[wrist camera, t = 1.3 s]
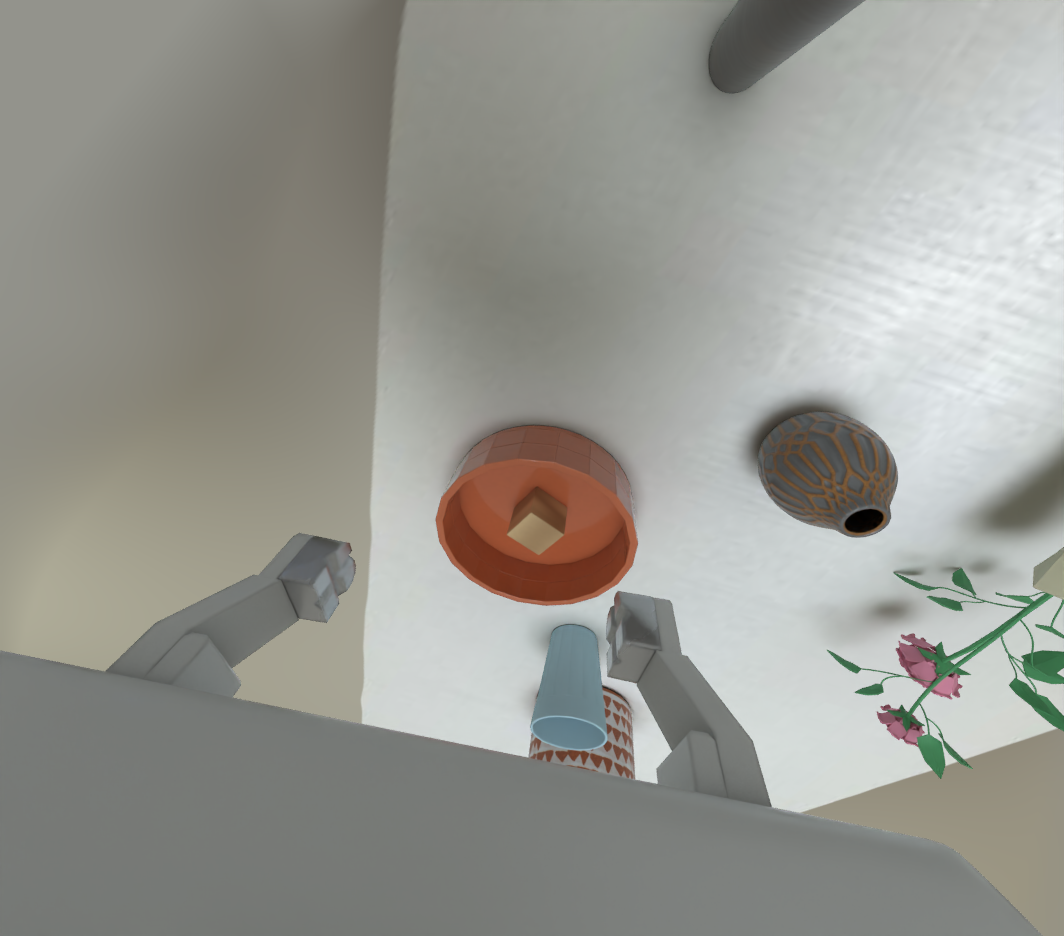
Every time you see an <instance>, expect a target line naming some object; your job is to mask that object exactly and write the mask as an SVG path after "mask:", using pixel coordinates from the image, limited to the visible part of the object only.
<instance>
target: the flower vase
mask: <svg viewBox="0 0 1064 936" xmlns="http://www.w3.org/2000/svg"><path fill="white" fill-rule="evenodd" d="M894 574H895V575H897V576H898V577H899V578H901V579H902V580H904V581H905V582H907V583H909V584H911V585H913V586H915V587H917V588H919V589H923V590H927V591H930V590H934V589H938V588H944V587H937V588H936V587H930V586H926V585H922V584H920V583H918V582H915V581H913V580H910V579H908V578H906V577H903V576H901V575H899V574H896V573H894ZM952 581H953V582H954V584H955V585H957V586H959V587H961V588H963V589H966V590H968V591H970V592H972V594H973V596H974V597H972V596H969V595H966V594H963V593H961V592H958V591H955V590H952V589H948V588H944V589H948V590H952V591H955V592H958V593H961V594H963V595H966V596H969V597H972V598H975V599H978V598H976V597H975V595H976V593H975V592H974V590H973V588H972V585H971V582H970V580H969V579H968V577H967V576H966V574H965V572H964V571H963V569H962V568H960V569H959V570H957V571H956V572H954V573H953V578H952ZM1033 587H1034V588H1036V589H1038V590H1041V591H1043V592H1040V593H1045V594H1044V595H1042V596H1041V597H1040V598H1038V599H1037V600H1036V601H1033V600H1032V599H1030V598H1029V597H1032V596H1035V595H1037V594H1040V593H1037V594H1035V595H1032V596H1014V595H1003V594H1000V593H996V595H1000V596H1004V597H1008V598H1011V599H1013V600H1016V601H1020V602H1023V603H1027V604H1030V605H1029V606H1027V607H1016V606H1008V605H1002V604H997V603H992V602H988V601H985V600H981V599H978V600H981V601H983V602H988V603H992V604H996V605H1001V606H1007V607H1015V608H1024V609H1023V610H1022V611H1020V612H1019V613H1018V614H1016V615H1015V616H1013V617H1012V618H1011V619H1009V620H1008V621H1006V622H1005V623H1004V624H1002V625H1001V626H1000V627H998V628H997V629H995V630H994V631H992V632H991V633H989V634H988V635H986V636H984V637H983V638H981V639H980V640H978V641H976V642H975V643H973V644H972V645H970V646H968V647H966V648H964V649H962V650H960V651H958V652H956V653H954V654H952V655H950V656H946V655H945V653H944V650H943V645H942V642H940V643H939V644H938V645H937V646H936V647H935V646H932V645H930V644H929V643H927V642H926V640H925V639H924V638H921V640H920V639H917V638H915V634H909V635H907V636H904V635H901V637H902V639H904V640H906V641H908V642H911V643H912V645H906V644H903V643H900V641H899V646H900V647H899V649H898V648H896V651H897V653H898V655H899V657H900V658H899V661H900V664H901V666H902V667H904V668H905V669H906V671H907V672H908V673H909V674H908V675H909V676H910V677H907V678H911V679H913V680H914V681H915V682H918V683H919V684H921V685H922V686H923V687H924V688H927V689H926V690H925V691H924V693H923V694H922V695H921V696H920V697H919V698H918V700H917V701H916V702H915V703H914V705H913V706H912V707H911V709H910V710H909V712H907V711H905V709H904V707H903V706H902V705H901V706H900V708H899V709H893V708H891V707H890V705H885V706H884V707H883V706H881V709H882V710H884V711H888V712H886V713H878V712H877V715H878V719H879V720H880V722H881V723H883V724H886V725H887V727H888V728H887V730H888V731H889V732H890V733H891V735H892V736H894V737H895V738H897V739H898V740H900V738H901V739H903V740H904V741H905V742H906V743H907V744H911V745H915V746H917V747H919V749H920V751H921V753H922V755H923V758H924V760H925V761H926V763H927V764H928V765H929V766H930V767H931V768H932V769H933V771H934V772H935V773H936V774H937V775H938V776H939V777H940V779H941V777H942V774H943V771H944V768H945V759H944V753H943V747H942V742H940V741H939V740H937V739H936V738H934V737H932V736H931V735H930V732H929V724H928V720H929V721H931V720H930V719H928V718H927V717H926V714H925V711H924V709H923V707H922V706H921V704H920V703H921V701H922V700H923V699H924V698H925V697H926V696H927V695H928V694H929V692H930V691H931V692H932V693H934V694H936V695H939V696H941V697H943V696H944V697H947V698H949V699H952V698H951V697H950V694H951V693H952V695H954V696H956V697H957V698H959V697H960V694H959V692H958V689H959V688H962V687H963V686H962V685H960V684H958V678H960V676H959V675H971V674H969V673H967V672H965V671H963V670H961V669H959V668H958V667H960V666H961V665H962V664H964V663H965V662H967V661H968V660H969V659H971V658H972V657H973V656H975V655H976V654H977V653H979V652H980V651H982V650H983V649H984V648H986V647H987V646H988V645H990V644H991V643H992V642H994V641H995V640H996V639H997V638H999V637H1000V636H1001V640H1002V643H1003V645H1004V648H1005V651H1006V652H1007V653H1008V657H1009V660H1010V658H1011V659H1012V661H1013V662H1014V663H1015V664H1016V662H1015V661H1014V660H1013V658H1014V657H1013V656H1011V655H1010V654H1009V652H1008V650H1007V648H1006V646H1005V644H1004V641H1003V637H1002V635H1003V634H1004V633H1005V632H1006V631H1008V630H1009V629H1010V628H1011V627H1012V626H1014V625H1015V624H1016V623H1017V622H1018V621H1019V620H1020V621H1021V622H1022V623H1023V621H1022V620H1021V619H1022V618H1023V617H1025V616H1026V615H1028V614H1029V613H1030V612H1032V611H1033V610H1035V609H1036V608H1037V607H1039V606H1040V605H1042V604H1043V603H1044V602H1046V601H1047V600H1049V599H1050V598H1052V597H1053V596H1056V597H1058V598H1061V599H1063V600H1062V603H1061V606H1060V607H1059V609H1058V611H1057V613H1056V614H1055V616H1054V618H1053V620H1052V623H1051V627H1049V626H1043V625H1037V624H1035V625H1036V627H1037V628H1040V629H1043V630H1046V631H1049V632H1052V633H1054V634H1056V635H1058V636H1060V637H1062V638H1064V635H1063V634H1061V633H1060V632H1058V631H1057V630H1055V629H1054V628H1053V627H1052V626H1053V623H1054V620H1055V618H1056V617H1057V615H1058V613H1059V611H1060V610H1061V608H1062V606H1063V604H1064V547H1063V548H1062V549H1061V550H1059V551H1058V552H1057V553H1055V554H1054V555H1052V556H1051V557H1049V558H1048V559H1046V560H1045V561H1043V562H1042V563H1040V564H1039V565H1037V566H1035V567H1034V575H1033ZM974 594H975V595H974ZM927 598H929V599H931V600H933V601H934V602H936V603H938V604H940V605H942V606H944V607H946V608H949V609H952V610H955V611H963V609H962V606H961V604H960V603H961V602H958V601H954V600H951V599H947V598H938V597H933V596H927ZM962 602H969V601H962ZM972 603H982V602H972ZM1023 625H1024V626H1025V627H1026V629H1027V630H1028V632H1029V634H1030V636H1031V639H1032V651H1031V653H1029V654H1026V655H1023V656H1021V657H1022V658H1023V659H1024V661H1023V662H1022V661H1020V660H1018V659H1016V658H1014V659H1015V660H1017V661H1019V662H1021V663H1022V664H1023V668H1024V671H1025V673H1024V672H1023V671H1022V670H1021V668H1020V667H1019V666H1018V665H1017V664H1016V666H1017V667H1018V668H1019V669H1020V670H1021V672H1022V673H1023V674H1024V675H1025V676H1026V677H1027V679H1028V680H1029V681H1030V682H1031V684H1032V685H1033V687H1034V689H1035V693H1034V692H1033V690H1032V689H1031V688H1030V687H1029V686H1028V685H1027V684H1026V683H1024V682H1022V681H1020V680H1018V679H1017V673H1016V670H1015V668H1014V666H1013V664H1012V662H1011V660H1010V662H1011V664H1012V666H1013V668H1014V670H1015V674H1016V678H1015V679H1014V680H1013V681H1012V682H1011V683H1010V685H1009V686H1010V687H1011V689H1012V690H1013V691H1014V692H1015V693H1016V694H1017V695H1018V696H1019V697H1021V698H1022V699H1023V700H1024V701H1026V702H1027V703H1028V704H1030V705H1031V706H1032V707H1033V708H1034V710H1035V711H1036V712H1037V713H1038V714H1040V715H1041V716H1042V717H1043V718H1045V719H1046V720H1047V721H1048V722H1049V723H1051V724H1052V725H1053V726H1055V727H1057V728H1059V729H1061V730H1063V731H1064V716H1063V715H1062V714H1061V713H1060V712H1059V711H1058V709H1057V708H1056V707H1055V706H1054V705H1053V704H1052V703H1051V702H1050V701H1049V699H1048V698H1047V697H1044V696H1041V695H1038V694H1037V690H1036V688H1035V686H1034V684H1033V683H1032V681H1031V680H1030V679H1029V678H1028V677H1030V678H1033V679H1035V680H1039V681H1043V682H1046V683H1050V684H1064V677H1062V676H1060V675H1059V674H1057V672H1059V671H1060V670H1061V669H1063V668H1064V652H1060V651H1043V650H1042V651H1038V652H1034V653H1033V649H1034V641H1033V637H1032V635H1031V633H1030V631H1029V629H1028V628H1027V626H1026V625H1025V624H1024V623H1023ZM914 645H915V646H916V647H915V646H914ZM929 647H930V648H931V649H932V650H931V649H929ZM976 648H977V649H976ZM974 649H975V650H974ZM933 650H934V651H935V652H934V651H933ZM973 650H974V651H973ZM827 651H828V652H829V653H830V654H831V655H832V656H833V657H834V658H835V659H836V660H837V661H838V662H839V663H840V664H842V665H843V666H844V667H846V668H847V669H848V670H850V671H852V672H854V673H858V672H859V671H860V670H861V668H860V667H858V666H856V665H855V664H853V663H851V662H848V661H846V660H844V659H843V658H841V657H839V656H838V655H836V654H834V653H833V652H831V651H829V650H827ZM970 651H973V652H971V653H970V654H969V655H967V656H966V657H964V658H963V659H962V660H960V661H959V662H958V663H956V664H955V665H954V664H953V663H951V660H953V659H955V658H957V657H959V656H962V655H964V654H966V653H968V652H970ZM862 670H871V669H862ZM871 671H877V670H871ZM878 672H883V671H878ZM883 673H888V672H883ZM888 674H893V673H888ZM893 675H897V674H893ZM952 676H953V677H952ZM892 677H906V676H902V675H898V676H891V677H887V678H885V679H883V680H882V682H881V683H880V684H874V685H872V686H869V687H865V688H862V689H860V690H858V691H856V692H855V693H858V694H863V695H879V694H881V693H883V692H884V691H883V686H882V683H883V681H884V680H886V679H888V678H892ZM919 704H920V706H921V708H922V710H923V712H924V715H925V718H926V721H927V727H928V735H924V736H922V733H924V731H923V730H922V726H925V725H924V724H922V723H920V722H919V721H918V720H917V719H916V718H915V716H914V715H912V713H913V712H914V711H915V709H916V708H917V707H918V705H919ZM927 719H928V720H927ZM931 722H932V721H931ZM932 723H933V724H934V725H935V726H936V727H937V728H938V726H937V725H936V724H935V723H934V722H932ZM938 729H939V728H938ZM939 731H940V729H939ZM940 733H941V731H940ZM940 733H938V734H939V735H940V737H941V738H942V740H943V743H944V747H945V748H946V750H947V751H948V753H949V754H950V755H951V756H952V757H953V758H955V759H956V760H957V761H958V762H959V763H960V764H963V765H965V766H967V767H969V768H971V769H973V768H972V767H971V766H970V765H969V764H967V762H966V761H964V760H963V759H962V758H961V757H960V756H959V755H958V754H957V753H956V752H955V751H954V750H953V749H952V748H951V747H950V746H949V745H948V744H947V743H946V742H945V741H944V739H943V736H942V733H941V734H940ZM917 742H918V745H917V744H916V743H917Z"/></svg>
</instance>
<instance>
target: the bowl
mask: <svg viewBox="0 0 1064 936" xmlns="http://www.w3.org/2000/svg"><path fill="white" fill-rule="evenodd" d="M536 487H539V488H540V489H541V490H543V491H544V492H546V493H547V494H549V495H550V496H552V497H553V498H554V499H556V500H557V501H559V502H560V503H562V504H563V505H564V506H566V507H567V515H566V524H565V533H564V536H562V537H561V538H560V539H559V540H557V541H556V542H555V543H554V544H552V545H551V546H550V547H549V548H547V549H546V550H545V551H544V552H542V553H541V554H540V555H538V554H536V553H534V552H533V551H531V550H530V549H528V548H527V547H525V546H523V545H522V544H520V543H519V542H517V541H516V540H514V539H513V538H511V537H509V536H508V535H507V532H508V528H509V525H510V521H511V517H512V514H513V510H514V508H515V507H516V506H517V505H518V504H519V503H520V502H521V501H522V500H523V499H524V498H525V497H526V496H527V495H528V494H529V493H530V492H531V491H532V490H533V489H534V488H536ZM436 525H437V531H438V537H439V542H440V544H441V545H442V547H443V549H444V551H445V552H446V554H447V556H448V557H449V559H450V561H451V562H452V564H453V565H455V566H456V567H457V568H458V569H459V570H460V571H461V572H462V573H463V574H464V575H465V576H466V577H467V578H468V579H469V580H471V581H473V582H474V583H476V584H478V585H479V586H481V587H483V588H485V589H486V590H488V591H490V592H491V593H494V594H497V595H500V596H503V597H505V598H508V599H511V600H514V601H517V602H523V603H530V604H537V605H546V606H548V605H564V604H574V603H577V602H581V601H584V600H588V599H591V598H595V597H597V596H599V595H601V594H602V593H604V592H606V591H607V590H609V589H610V588H612V587H614V586H615V585H617V584H618V583H619V582H620V581H621V579H622V578H623V577H624V576H625V574H626V573H627V572H628V571H629V569H630V568H631V567H632V565H633V561H634V557H635V553H636V549H637V546H638V538H637V529H636V520H635V511H634V504H633V499H632V492H631V488H630V484H629V482H628V479H627V477H626V475H625V473H624V471H623V470H622V468H621V467H620V465H619V464H618V463H617V462H616V460H615V459H614V458H613V457H612V456H611V455H610V454H609V453H608V452H607V451H605V450H604V449H603V448H602V447H600V446H599V445H597V444H596V443H594V442H593V441H591V440H589V439H587V438H585V437H583V436H582V435H579V434H576V433H574V432H571V431H568V430H564V429H560V428H556V427H549V426H520V427H514V428H510V429H506V430H502V431H500V432H497V433H495V434H492V435H490V436H489V437H487V438H485V439H483V440H482V441H480V442H479V443H478V444H477V445H475V446H474V447H473V448H472V449H471V450H470V451H469V452H468V453H467V455H466V456H465V458H464V459H463V461H462V462H461V463H460V464H459V466H458V467H457V469H456V471H455V473H454V475H453V477H452V479H451V481H450V482H449V484H448V486H447V488H446V490H445V492H444V494H443V496H442V498H441V501H440V505H439V508H438V512H437V516H436Z"/></svg>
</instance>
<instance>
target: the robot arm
mask: <svg viewBox="0 0 1064 936" xmlns="http://www.w3.org/2000/svg"><path fill="white" fill-rule="evenodd" d="M351 551H352V549H351V546H350V543H347V542H342V541H337V540H332V539H327V538H322V537H317V536H313V535H307V534H302V533H298V534H297V535H295V536H293V537H292V538H291V539H290V540H289V542H288V543H287V544H286V545H285V546H284V547H283V548H282V549H281V551H280V552H279V553H278V554H277V555H276V556H275V557H274V558H273V560H272V561H271V562H270V563H269V564H268V565H267V566H266V568H265V569H264V570H263V571H262V572H261V573H260V574H259V575H252V576H250V577H248V578H246V579H244V580H242V581H240V582H238V583H236V584H234V585H232V586H229V587H227V588H225V589H223V590H221V591H219V592H217V593H215V594H213V595H211V596H209V597H207V598H205V599H203V600H201V601H199V602H197V603H195V604H193V605H191V606H189V607H187V608H185V609H183V610H181V611H179V612H177V613H175V614H173V615H171V616H169V617H167V618H165V619H163V620H160V621H158V622H157V623H155V624H154V625H153V626H152V627H151V628H150V629H149V630H148V631H147V632H145V634H143V635H142V636H141V637H140V638H139V639H138V640H137V641H136V642H135V643H134V644H133V645H132V646H131V647H130V648H129V649H128V650H127V651H126V652H125V653H124V654H123V655H122V656H121V657H120V658H119V659H118V660H117V661H116V662H114V664H112V665H111V666H110V667H109V668H108V669H107V670H106V671H105V672H104V671H99V670H94V669H90V668H84V667H80V666H75V665H70V664H64V663H60V662H55V661H50V660H45V659H40V658H35V657H30V656H25V655H20V654H15V653H10V652H5V651H0V936H1042V935H1041V933H1040V932H1038V930H1037V929H1036V928H1034V926H1033V925H1032V924H1031V923H1030V922H1029V921H1028V920H1027V919H1026V918H1025V917H1024V916H1023V915H1022V914H1021V913H1020V912H1019V911H1018V910H1017V909H1016V908H1015V907H1014V906H1013V905H1012V904H1011V903H1010V902H1009V901H1008V900H1007V899H1006V898H1005V897H1004V896H1003V895H1002V894H1001V893H1000V892H999V891H998V890H997V889H996V888H995V887H994V886H993V885H992V884H991V883H990V882H989V881H988V880H987V879H986V878H985V877H984V876H982V874H981V873H980V872H979V871H978V870H977V869H975V868H974V867H973V866H972V865H971V864H970V863H969V862H968V861H967V860H966V859H965V858H964V857H963V856H961V855H960V854H959V853H958V852H956V851H955V850H954V849H952V848H950V847H948V846H947V845H945V844H942V843H939V842H936V841H933V840H929V839H925V838H920V837H915V836H910V835H905V834H900V833H895V832H890V831H886V830H881V829H875V828H871V827H866V826H861V825H856V824H851V823H846V822H841V821H836V820H831V819H827V818H822V817H817V816H812V815H806V814H802V813H797V812H792V811H787V810H782V809H778V808H773V807H772V806H771V803H770V799H769V796H768V792H767V789H766V785H765V782H764V778H763V775H762V771H761V768H760V765H759V761H758V758H757V754H756V751H755V747H754V744H753V741H752V739H751V738H750V737H749V735H748V734H747V733H746V732H745V730H744V729H743V728H742V726H741V725H740V724H739V723H738V721H737V720H736V719H735V717H734V716H733V715H732V713H731V712H730V711H729V710H728V708H727V707H726V706H725V704H724V703H723V702H722V700H721V699H720V698H719V697H718V695H717V694H716V693H715V691H714V690H713V689H712V688H711V686H710V685H709V684H708V682H707V681H706V680H705V678H704V677H703V676H702V675H701V673H700V672H699V671H698V669H697V668H696V667H695V666H694V664H693V663H692V662H691V660H690V659H689V658H688V656H685V655H682V653H681V647H680V642H679V637H678V632H677V627H676V622H675V617H674V611H673V606H672V603H671V602H670V600H665V599H659V598H653V597H651V596H645V595H639V594H633V593H627V592H621V591H618V592H617V593H616V595H615V598H614V606H612V607H611V608H610V611H609V614H608V618H607V626H606V639H607V641H608V642H609V644H610V647H609V650H608V652H607V677H611V678H615V679H620V680H624V681H629V682H633V683H637V687H638V688H639V690H640V692H641V694H642V696H643V698H644V700H645V701H646V703H647V705H648V707H649V709H650V711H651V713H652V714H653V716H654V718H655V720H656V722H657V724H658V726H659V727H660V729H661V731H662V733H663V735H664V737H665V739H666V740H667V742H668V744H669V746H670V748H671V750H672V752H671V753H670V754H669V755H668V757H667V758H666V759H665V760H664V761H663V762H662V763H661V764H660V766H659V767H658V768H657V779H658V784H655V783H650V782H645V781H640V780H635V779H630V778H625V777H620V776H616V775H611V774H606V773H601V772H596V771H591V770H586V769H581V768H576V767H571V766H566V765H562V764H557V763H552V762H547V761H542V760H537V759H532V758H527V757H522V756H517V755H512V754H508V753H503V752H498V751H493V750H488V749H483V748H478V747H473V746H468V745H463V744H458V743H454V742H449V741H444V740H439V739H434V738H429V737H424V736H419V735H414V734H409V733H404V732H400V731H395V730H390V729H385V728H380V727H375V726H370V725H365V724H360V723H355V722H350V721H346V720H340V719H335V718H331V717H326V716H321V715H316V714H311V713H306V712H301V711H296V710H291V709H286V708H281V707H277V706H271V705H267V704H262V703H257V702H252V701H247V700H242V699H237V698H232V697H233V696H234V695H235V693H236V692H237V690H238V689H239V687H240V686H241V682H240V679H239V678H238V676H237V675H236V674H235V672H234V671H233V669H232V668H233V667H234V666H236V665H237V664H238V663H240V662H241V661H242V660H244V659H245V658H247V657H248V656H250V655H251V654H252V653H254V652H255V651H256V650H258V649H259V648H261V647H262V646H263V645H265V644H266V643H267V642H269V641H270V640H272V639H273V638H274V637H276V636H277V635H279V634H280V633H281V632H283V631H284V630H286V629H287V628H288V627H290V626H291V625H293V624H294V623H295V622H297V621H298V620H299V619H306V620H312V621H318V622H324V623H327V622H328V620H329V619H330V617H331V616H332V614H333V612H334V611H335V609H336V608H337V606H338V604H339V598H338V596H339V595H341V594H342V593H344V592H346V591H347V590H348V588H349V587H350V585H351V583H352V581H353V578H354V575H355V571H356V570H355V569H356V565H355V561H354V560H353V558H352V557H350V556H349V554H350V553H351ZM298 618H299V619H298Z"/></svg>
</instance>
